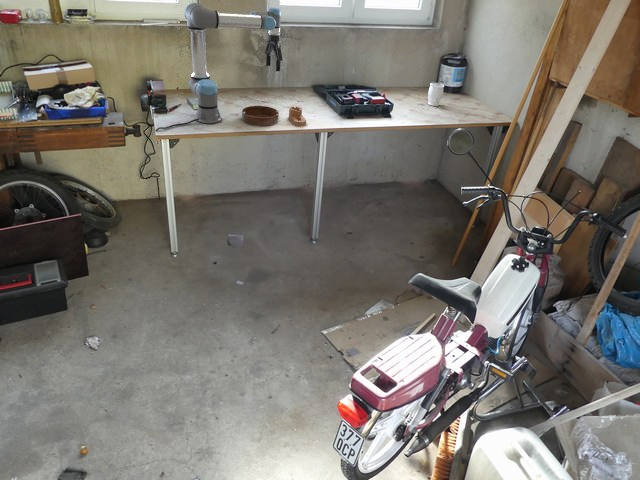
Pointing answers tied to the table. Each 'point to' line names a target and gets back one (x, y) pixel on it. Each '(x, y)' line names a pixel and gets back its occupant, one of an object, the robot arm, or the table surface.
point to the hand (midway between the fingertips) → (273, 68)
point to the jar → (435, 93)
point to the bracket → (296, 116)
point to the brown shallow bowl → (260, 115)
